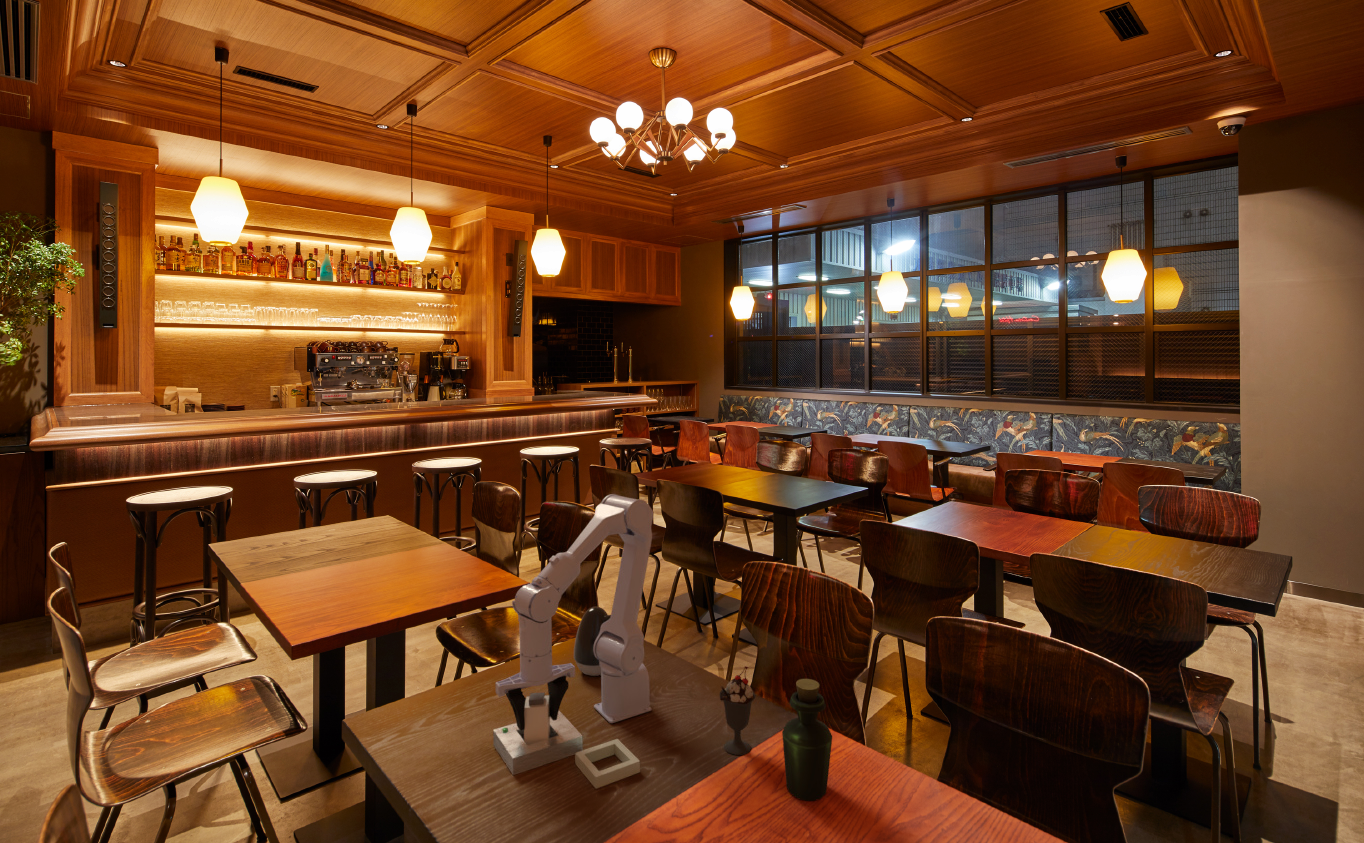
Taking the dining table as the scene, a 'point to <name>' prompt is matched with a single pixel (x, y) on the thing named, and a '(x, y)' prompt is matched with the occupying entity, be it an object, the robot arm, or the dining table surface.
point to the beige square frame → (608, 775)
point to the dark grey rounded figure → (589, 640)
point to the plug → (536, 718)
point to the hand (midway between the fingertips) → (537, 722)
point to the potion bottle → (807, 744)
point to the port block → (537, 745)
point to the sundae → (737, 712)
